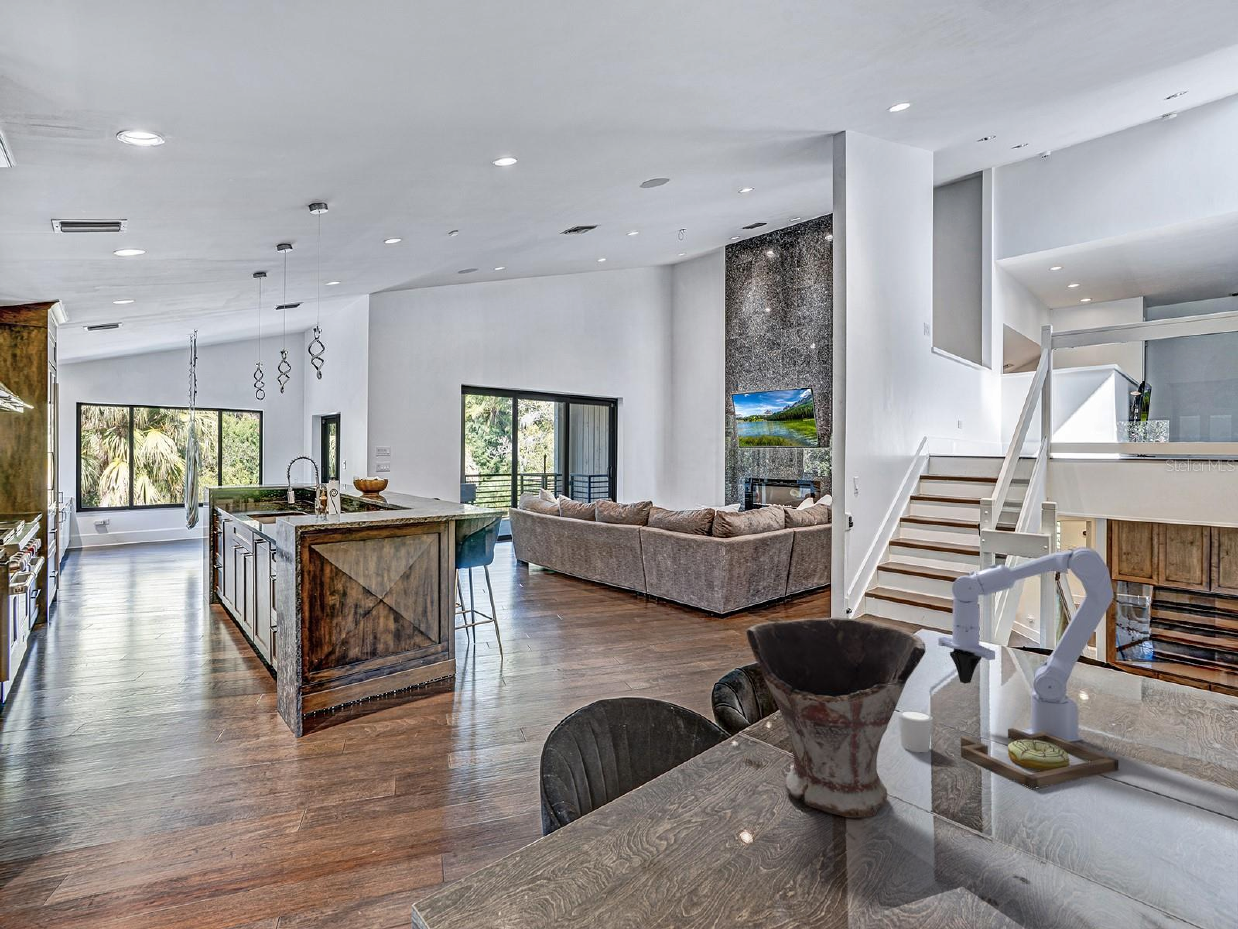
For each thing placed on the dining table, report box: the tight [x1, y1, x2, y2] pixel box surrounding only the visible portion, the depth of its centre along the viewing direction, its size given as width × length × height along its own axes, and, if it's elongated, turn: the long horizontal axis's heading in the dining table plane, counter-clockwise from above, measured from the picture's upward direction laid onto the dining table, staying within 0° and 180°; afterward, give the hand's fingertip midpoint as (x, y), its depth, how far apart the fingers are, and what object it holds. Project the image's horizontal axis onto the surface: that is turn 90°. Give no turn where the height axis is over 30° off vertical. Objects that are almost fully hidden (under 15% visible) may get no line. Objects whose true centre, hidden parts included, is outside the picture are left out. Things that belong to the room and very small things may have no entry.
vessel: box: [746, 617, 926, 819], centre depth 125 cm, size 30×27×30 cm
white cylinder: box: [898, 709, 934, 754], centre depth 147 cm, size 7×7×7 cm
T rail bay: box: [960, 727, 1120, 790], centre depth 142 cm, size 20×25×2 cm
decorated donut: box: [1007, 740, 1070, 772], centre depth 140 cm, size 10×11×4 cm
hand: (965, 682), depth 164 cm, fingers closed
